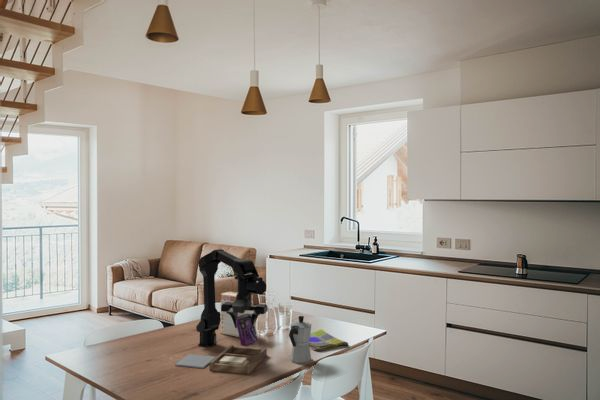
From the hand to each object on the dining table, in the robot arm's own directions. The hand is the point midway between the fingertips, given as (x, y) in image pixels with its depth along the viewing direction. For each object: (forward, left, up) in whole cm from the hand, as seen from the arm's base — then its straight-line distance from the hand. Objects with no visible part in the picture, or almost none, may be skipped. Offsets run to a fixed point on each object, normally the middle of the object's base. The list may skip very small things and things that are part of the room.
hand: (244, 328), depth 196 cm
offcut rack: (0, -5, -12) cm, 13 cm away
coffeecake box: (-15, +31, -12) cm, 36 cm away
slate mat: (-17, -9, -12) cm, 23 cm away
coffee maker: (+23, +3, -12) cm, 26 cm away
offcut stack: (0, -11, -13) cm, 17 cm away
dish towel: (+26, +30, -13) cm, 42 cm away
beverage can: (+3, 0, -6) cm, 7 cm away
